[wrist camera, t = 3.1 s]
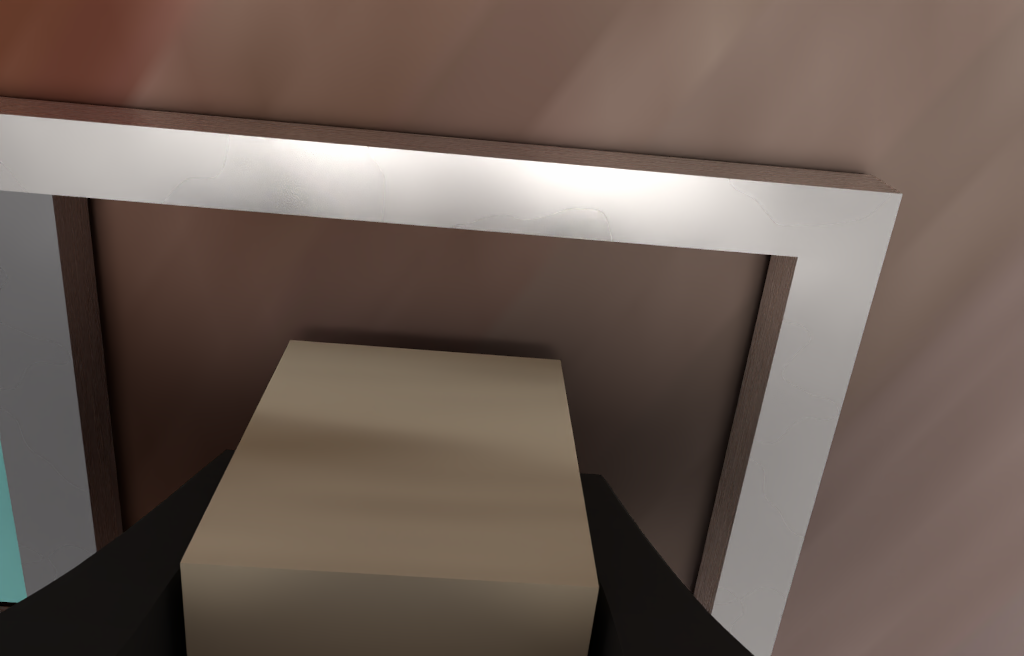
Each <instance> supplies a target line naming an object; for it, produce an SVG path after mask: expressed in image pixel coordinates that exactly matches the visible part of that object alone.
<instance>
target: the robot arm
mask: <svg viewBox="0 0 1024 656" xmlns="http://www.w3.org/2000/svg"><path fill="white" fill-rule="evenodd" d="M235 451H236V450H226V451H224V452H223V453H222V454H221V455H219V456H218V457H217V458H216V459H214V460H213V461H212V462H210V463H209V464H208V465H207V466H206V467H204V468H203V469H202V470H201V471H200V472H198V473H197V474H196V475H195V476H193V477H192V478H191V479H190V480H189V481H187V482H186V483H185V484H184V485H183V486H181V487H180V488H179V489H178V490H177V491H175V492H174V493H173V494H172V495H171V496H169V497H168V498H167V499H166V500H165V501H163V502H162V503H161V504H160V505H158V506H157V507H156V508H154V509H153V510H152V511H151V512H149V513H148V514H147V515H146V516H144V517H143V518H142V519H141V520H139V521H138V522H137V523H135V524H134V525H133V526H132V527H130V528H129V529H128V530H127V531H125V532H124V533H122V534H121V535H120V536H118V537H117V538H115V539H114V540H113V541H111V542H110V543H108V544H107V545H106V546H104V547H103V548H101V549H100V550H99V551H97V552H96V553H94V554H93V555H92V556H90V557H89V558H87V559H86V560H85V561H83V562H82V563H80V564H79V565H78V566H76V567H75V568H73V569H72V570H70V571H69V572H67V573H65V574H64V575H62V576H61V577H59V578H58V579H56V580H55V581H53V582H51V583H50V584H48V585H47V586H45V587H43V588H42V589H40V590H38V591H37V592H35V593H33V594H32V595H30V596H28V597H27V598H25V599H23V600H21V601H20V602H18V603H16V604H15V605H13V606H11V607H10V608H8V609H6V610H4V611H3V612H1V613H0V656H187V648H186V635H185V621H184V608H183V595H182V582H181V568H180V562H181V560H182V558H183V556H184V554H185V552H186V550H187V548H188V546H189V544H190V542H191V540H192V538H193V536H194V534H195V532H196V530H197V528H198V526H199V524H200V522H201V519H202V517H203V515H204V513H205V511H206V509H207V507H208V505H209V503H210V501H211V499H212V497H213V495H214V493H215V491H216V489H217V487H218V485H219V483H220V481H221V479H222V477H223V475H224V473H225V471H226V469H227V467H228V465H229V463H230V461H231V459H232V457H233V455H234V453H235ZM580 479H581V484H582V490H583V496H584V502H585V508H586V514H587V520H588V526H589V532H590V537H591V543H592V549H593V555H594V561H595V567H596V573H597V579H598V584H599V590H598V596H597V602H596V608H595V614H594V619H593V625H592V631H591V637H590V643H589V649H588V655H587V656H754V655H753V654H752V653H751V652H750V651H749V650H748V649H747V648H745V647H744V646H743V645H742V644H741V643H740V642H739V641H738V640H737V639H736V638H735V637H734V636H733V635H731V634H730V633H729V632H728V631H727V630H726V629H725V628H724V627H723V626H722V625H721V624H720V623H719V622H718V621H717V620H716V619H715V618H714V617H713V616H712V615H711V614H710V613H709V612H708V611H707V610H706V609H705V608H704V607H703V605H702V604H701V603H700V602H699V601H698V600H697V599H696V598H695V597H694V596H693V594H692V593H691V592H690V591H689V590H688V589H687V588H686V587H685V585H684V584H683V583H682V582H681V581H680V579H679V578H678V577H677V576H676V575H675V574H674V572H673V571H672V570H671V569H670V567H669V566H668V565H667V564H666V562H665V561H664V560H663V559H662V557H661V556H660V555H659V554H658V552H657V551H656V550H655V548H654V547H653V546H652V545H651V543H650V542H649V541H648V539H647V538H646V537H645V535H644V534H643V533H642V531H641V530H640V529H639V527H638V526H637V525H636V523H635V522H634V520H633V519H632V518H631V516H630V515H629V513H628V512H627V511H626V509H625V508H624V506H623V505H622V503H621V502H620V500H619V499H618V498H617V496H616V495H615V493H614V492H613V490H612V489H611V487H610V486H609V484H608V483H607V482H606V480H605V479H604V478H603V477H602V476H601V475H596V474H581V473H580Z"/></svg>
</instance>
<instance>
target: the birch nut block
mask: <svg viewBox="0 0 1024 656" xmlns="http://www.w3.org/2000/svg"><path fill="white" fill-rule="evenodd" d="M180 568H181V582H182V595H183V608H184V621H185V635H186V648H187V656H587V655H588V649H589V643H590V637H591V631H592V625H593V619H594V614H595V608H596V602H597V596H598V590H599V584H598V579H597V573H596V567H595V561H594V555H593V549H592V543H591V537H590V532H589V526H588V520H587V514H586V508H585V502H584V496H583V490H582V484H581V479H580V473H579V467H578V461H577V455H576V449H575V443H574V437H573V431H572V426H571V420H570V414H569V408H568V402H567V396H566V390H565V384H564V378H563V373H562V367H561V361H560V360H553V359H540V358H526V357H513V356H499V355H486V354H472V353H459V352H445V351H432V350H418V349H405V348H391V347H378V346H364V345H350V344H337V343H323V342H310V341H296V340H290V342H289V344H288V346H287V348H286V350H285V352H284V354H283V356H282V358H281V360H280V362H279V364H278V366H277V368H276V370H275V372H274V374H273V376H272V378H271V380H270V382H269V384H268V386H267V388H266V390H265V392H264V394H263V396H262V398H261V400H260V402H259V404H258V406H257V408H256V410H255V412H254V414H253V416H252V418H251V420H250V422H249V424H248V426H247V428H246V431H245V433H244V435H243V437H242V439H241V441H240V443H239V445H238V447H237V449H236V451H235V453H234V455H233V457H232V459H231V461H230V463H229V465H228V467H227V469H226V471H225V473H224V475H223V477H222V479H221V481H220V483H219V485H218V487H217V489H216V491H215V493H214V495H213V497H212V499H211V501H210V503H209V505H208V507H207V509H206V511H205V513H204V515H203V517H202V519H201V522H200V524H199V526H198V528H197V530H196V532H195V534H194V536H193V538H192V540H191V542H190V544H189V546H188V548H187V550H186V552H185V554H184V556H183V558H182V560H181V562H180Z"/></svg>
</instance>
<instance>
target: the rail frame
mask: <svg viewBox="0 0 1024 656" xmlns="http://www.w3.org/2000/svg"><path fill="white" fill-rule="evenodd" d="M87 198H98V199H110V200H122V201H134V202H146V203H158V204H169V205H181V206H193V207H205V208H217V209H229V210H241V211H253V212H265V213H277V214H289V215H301V216H313V217H325V218H337V219H349V220H361V221H373V222H385V223H397V224H408V225H420V226H432V227H444V228H456V229H468V230H480V231H492V232H504V233H516V234H528V235H540V236H552V237H564V238H576V239H588V240H600V241H612V242H624V243H636V244H648V245H659V246H671V247H683V248H695V249H707V250H719V251H731V252H743V253H755V254H767V255H771V259H770V264H769V268H768V273H767V277H766V281H765V286H764V290H763V294H762V299H761V303H760V307H759V312H758V316H757V321H756V325H755V329H754V334H753V338H752V342H751V347H750V351H749V355H748V360H747V364H746V369H745V373H744V377H743V382H742V386H741V390H740V395H739V399H738V403H737V408H736V412H735V417H734V421H733V425H732V430H731V434H730V438H729V443H728V447H727V451H726V456H725V460H724V465H723V469H722V473H721V478H720V482H719V486H718V491H717V495H716V499H715V504H714V508H713V513H712V517H711V521H710V526H709V530H708V534H707V539H706V543H705V547H704V552H703V556H702V561H701V565H700V569H699V574H698V578H697V582H696V587H695V591H694V595H693V596H694V597H695V598H696V599H697V600H698V601H699V602H700V603H701V604H702V605H703V607H704V608H705V609H706V610H707V611H708V612H709V613H710V614H711V615H712V616H713V617H714V618H715V619H716V620H717V621H718V622H719V623H720V624H721V625H722V626H723V627H724V628H725V629H726V630H727V631H728V632H729V633H730V634H731V635H733V636H734V637H735V638H736V639H737V640H738V641H739V642H740V643H741V644H742V645H743V646H744V647H745V648H747V649H748V650H749V651H750V652H751V653H752V654H753V655H754V656H771V653H772V649H773V646H774V642H775V639H776V635H777V632H778V628H779V625H780V621H781V618H782V614H783V611H784V607H785V604H786V600H787V597H788V593H789V590H790V586H791V583H792V579H793V576H794V572H795V569H796V565H797V562H798V558H799V555H800V551H801V548H802V544H803V541H804V537H805V534H806V530H807V527H808V523H809V520H810V516H811V513H812V509H813V506H814V502H815V499H816V495H817V492H818V488H819V485H820V481H821V478H822V474H823V471H824V467H825V464H826V460H827V457H828V453H829V450H830V446H831V443H832V439H833V436H834V432H835V429H836V425H837V422H838V418H839V415H840V411H841V408H842V404H843V401H844V397H845V394H846V390H847V387H848V383H849V380H850V376H851V373H852V369H853V366H854V362H855V359H856V355H857V352H858V348H859V345H860V341H861V338H862V334H863V331H864V327H865V324H866V320H867V317H868V313H869V310H870V306H871V303H872V299H873V296H874V292H875V289H876V285H877V282H878V278H879V275H880V271H881V268H882V264H883V261H884V257H885V254H886V250H887V247H888V243H889V240H890V236H891V233H892V229H893V226H894V222H895V219H896V215H897V212H898V208H899V205H900V201H901V198H902V193H900V192H899V191H897V190H895V189H894V188H892V187H891V186H889V185H887V184H886V183H884V182H883V181H881V180H880V179H878V178H876V177H875V176H873V175H865V174H854V173H842V172H831V171H820V170H809V169H798V168H787V167H776V166H765V165H753V164H742V163H731V162H720V161H709V160H698V159H687V158H675V157H664V156H653V155H642V154H631V153H620V152H609V151H598V150H586V149H575V148H564V147H553V146H542V145H531V144H520V143H509V142H497V141H486V140H475V139H464V138H453V137H442V136H431V135H420V134H408V133H397V132H386V131H375V130H364V129H353V128H342V127H330V126H319V125H308V124H297V123H286V122H275V121H264V120H253V119H241V118H230V117H219V116H208V115H197V114H186V113H175V112H164V111H152V110H141V109H130V108H119V107H108V106H97V105H86V104H75V103H63V102H52V101H41V100H30V99H19V98H8V97H0V602H16V603H18V602H20V601H21V600H23V599H25V598H27V597H28V596H30V595H32V594H33V593H35V592H37V591H38V590H40V589H42V588H43V587H45V586H47V585H48V584H50V583H51V582H53V581H55V580H56V579H58V578H59V577H61V576H62V575H64V574H65V573H67V572H69V571H70V570H72V569H73V568H75V567H76V566H78V565H79V564H80V563H82V562H83V561H85V560H86V559H87V558H89V557H90V556H92V555H93V554H94V553H96V552H97V551H99V550H100V549H101V548H103V547H104V546H106V545H107V544H108V543H110V542H111V541H113V540H114V539H115V538H117V537H118V536H120V535H121V534H122V533H123V527H122V518H121V508H120V499H119V490H118V481H117V471H116V462H115V453H114V444H113V434H112V425H111V416H110V407H109V397H108V388H107V379H106V370H105V360H104V351H103V342H102V333H101V323H100V314H99V305H98V296H97V286H96V277H95V268H94V259H93V249H92V240H91V231H90V222H89V212H88V203H87ZM8 608H10V607H1V606H0V613H1V612H3V611H4V610H6V609H8Z"/></svg>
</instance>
